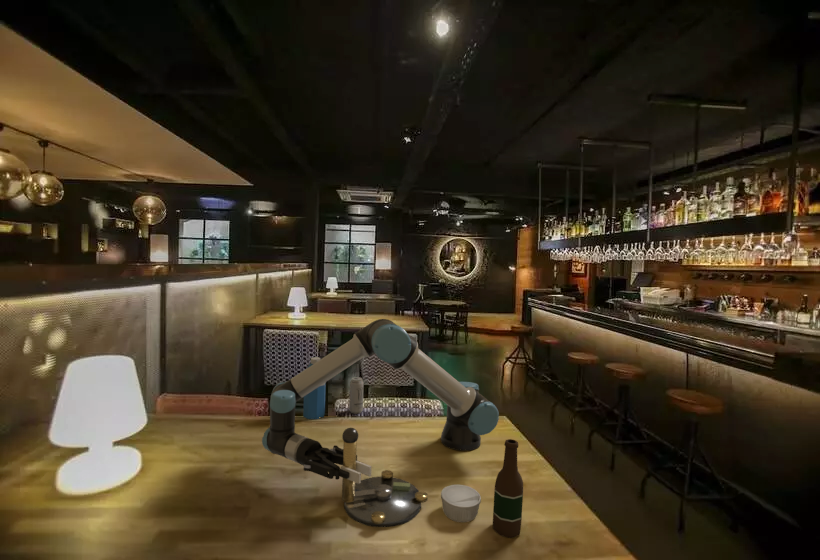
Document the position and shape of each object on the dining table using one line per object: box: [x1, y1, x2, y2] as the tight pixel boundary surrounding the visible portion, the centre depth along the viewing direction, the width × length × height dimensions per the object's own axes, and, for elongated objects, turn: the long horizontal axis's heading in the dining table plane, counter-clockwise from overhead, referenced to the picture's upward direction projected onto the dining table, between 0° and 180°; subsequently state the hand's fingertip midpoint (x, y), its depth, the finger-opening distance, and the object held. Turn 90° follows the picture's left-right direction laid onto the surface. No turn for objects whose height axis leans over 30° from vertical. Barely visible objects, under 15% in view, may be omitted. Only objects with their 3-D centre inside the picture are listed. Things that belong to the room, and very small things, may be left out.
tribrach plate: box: [343, 469, 429, 528], centre depth 126 cm, size 24×26×3 cm
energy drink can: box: [348, 376, 365, 415], centre depth 195 cm, size 6×6×15 cm
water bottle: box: [302, 356, 327, 420], centre depth 189 cm, size 9×9×25 cm
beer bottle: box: [492, 438, 524, 539], centre depth 116 cm, size 8×8×24 cm
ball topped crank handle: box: [341, 427, 392, 503], centre depth 124 cm, size 15×5×21 cm, turn 108°
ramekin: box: [440, 484, 482, 523], centre depth 123 cm, size 11×11×5 cm
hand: (365, 474), depth 119 cm, fingers open, 4 cm apart
